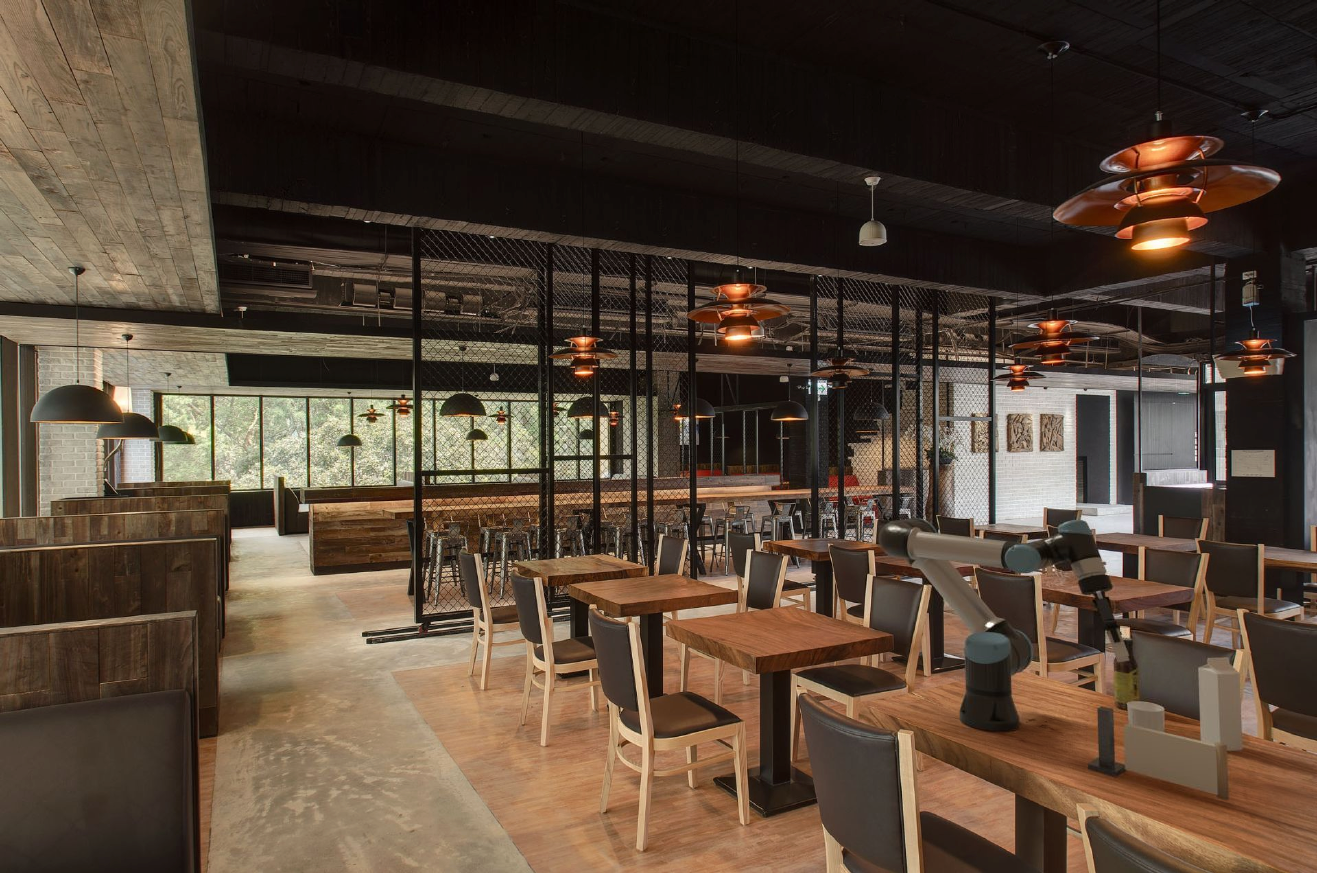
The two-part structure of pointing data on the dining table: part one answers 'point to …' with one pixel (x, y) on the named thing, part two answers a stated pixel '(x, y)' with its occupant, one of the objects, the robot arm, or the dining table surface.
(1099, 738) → the gate post
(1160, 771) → the gate panel
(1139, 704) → the white cup
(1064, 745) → the dining table surface
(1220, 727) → the milk
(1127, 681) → the sauce bottle
